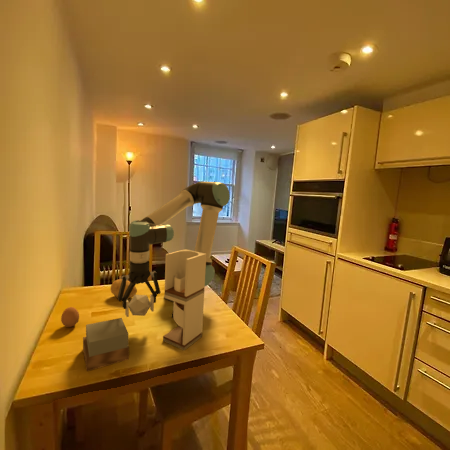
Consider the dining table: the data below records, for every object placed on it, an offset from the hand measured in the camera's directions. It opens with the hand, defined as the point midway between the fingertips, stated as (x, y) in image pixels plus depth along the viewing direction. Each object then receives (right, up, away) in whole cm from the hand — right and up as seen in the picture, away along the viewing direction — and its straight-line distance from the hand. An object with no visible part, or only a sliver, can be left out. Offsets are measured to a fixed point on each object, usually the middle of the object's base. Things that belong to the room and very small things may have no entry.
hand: (139, 312), depth 109 cm
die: (0, -1, 0) cm, 1 cm away
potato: (-18, -2, +30) cm, 36 cm away
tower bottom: (-7, -10, -16) cm, 20 cm away
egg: (-29, -6, 0) cm, 30 cm away
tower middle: (-6, -5, -17) cm, 18 cm away
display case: (+19, -9, -4) cm, 21 cm away
